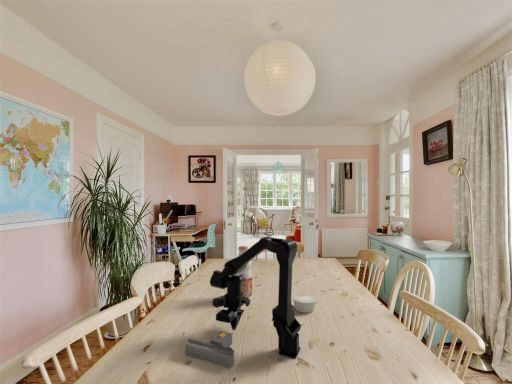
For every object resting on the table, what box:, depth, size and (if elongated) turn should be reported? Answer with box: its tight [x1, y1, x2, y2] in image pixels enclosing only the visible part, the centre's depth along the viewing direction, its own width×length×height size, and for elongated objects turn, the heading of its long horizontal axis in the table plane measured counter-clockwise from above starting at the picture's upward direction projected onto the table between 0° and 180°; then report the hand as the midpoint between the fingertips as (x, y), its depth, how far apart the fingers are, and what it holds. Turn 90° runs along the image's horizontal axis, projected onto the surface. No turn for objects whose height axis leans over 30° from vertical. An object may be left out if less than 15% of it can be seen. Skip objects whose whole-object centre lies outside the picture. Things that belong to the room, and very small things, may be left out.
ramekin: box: [292, 294, 317, 314], centre depth 129 cm, size 11×11×5 cm
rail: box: [184, 337, 235, 369], centre depth 92 cm, size 18×6×5 cm, turn 67°
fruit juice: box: [235, 245, 253, 301], centre depth 142 cm, size 9×9×28 cm
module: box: [209, 330, 233, 348], centre depth 97 cm, size 5×7×5 cm
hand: (234, 329), depth 107 cm, fingers closed
